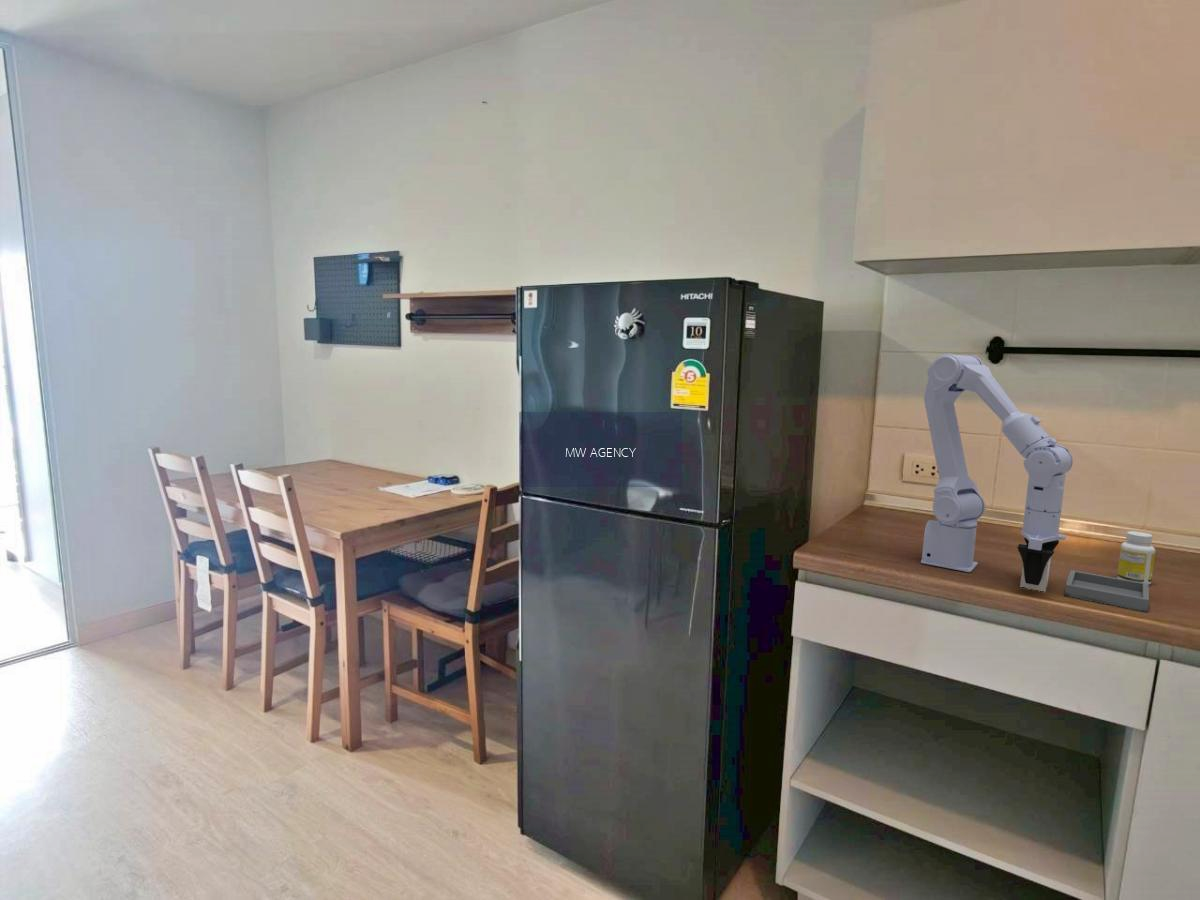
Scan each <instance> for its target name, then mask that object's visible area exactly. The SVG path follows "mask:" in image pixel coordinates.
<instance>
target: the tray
mask: <svg viewBox="0 0 1200 900" xmlns="http://www.w3.org/2000/svg"><path fill="white" fill-rule="evenodd" d="M1063 594H1064V595H1066V596H1065V597H1067V596H1071V597H1070V598H1072V597H1074V598H1073V599H1077V598H1080V599H1079V600H1082V599H1085V600H1084V601H1087V600H1091V601H1090V602H1092V601H1095V602H1094V603H1097V602H1100V603H1099V604H1102V603H1104V604H1103V605H1107V604H1110V605H1109V606H1112V605H1114V606H1113V607H1117V606H1120V607H1119V608H1122V607H1124V608H1123V609H1127V608H1128V609H1127V610H1132V609H1133V610H1134V611H1138V612H1143V613H1148V610H1149V609H1148V608H1149V603H1150V589H1149V585H1148V584H1147V583H1141V582H1136V581H1130V580H1124V579H1119V578H1117V577H1112V576H1108V575H1107V576H1105V575H1102V574H1094V573H1090V572H1083V571H1078V570H1073V569H1070V572H1069V574H1068V577H1067V580H1066V583H1065V587H1064V593H1063ZM1064 595H1063V596H1064Z"/></svg>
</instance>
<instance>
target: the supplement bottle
mask: <svg viewBox="0 0 1200 900" xmlns="http://www.w3.org/2000/svg"><path fill="white" fill-rule="evenodd" d="M1125 537H1126V538H1125V539H1126V540H1127V541H1125V542H1123V543H1121V545H1120V549H1119V550H1120V551H1119V559H1118V566H1117V567H1118V568H1117V577H1116V578H1119V579H1124V580H1130V581H1136V582H1141V583H1147V584H1148V586H1150V585H1151V584H1152V581H1153V572H1154V565H1155V556H1156V548H1155V547H1154V546H1153V545H1151V543H1152V542H1153V535H1152V534H1151V533H1148V532H1147V533H1146V532H1141V531H1135V530H1134V531H1127V532H1126V536H1125Z"/></svg>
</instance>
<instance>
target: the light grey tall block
mask: <svg viewBox="0 0 1200 900" xmlns="http://www.w3.org/2000/svg"><path fill="white" fill-rule="evenodd" d="M1051 560H1052V556H1051V557H1050V559H1049V560H1048V562H1047V564H1046V566H1045V569H1044V572H1043V576H1042V579H1041V581H1040V583H1039V585H1033V584H1028V583H1026V582H1025V577H1024V567H1023V566H1022V569H1021V577H1020V583H1019V584H1020V586H1019V588H1020V587H1025V588H1029V589H1028V590H1030V588H1031V589H1035V590H1039V591H1038V592H1040V591H1044V592H1043V593H1046V591H1047V589H1046V588H1048V585H1049V584H1048V583H1049V576H1050V567H1051ZM1025 588H1024V589H1025ZM1035 590H1034V591H1035Z"/></svg>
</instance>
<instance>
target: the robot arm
mask: <svg viewBox="0 0 1200 900" xmlns="http://www.w3.org/2000/svg"><path fill="white" fill-rule="evenodd" d="M926 371H927V377H928V379H927V383H926V388H925V392H924V395H923V396H924V397H923V401H924V409H925V411H926V418H927V422H928V427H929V428H928V429H929V432H930V438H931V442H932V447H933V454H934V458H935V463H936V464H935V465H936V468H937V473H938V474H937V475H938V479H939V480H938V482H937V483H936V485H935V486H934V488H933V494H934V495H933V496H934V498H933V499H934V500H933V504H932V512H933V513H932V514H933V515H934V517H935V518H936V519H937V520H935V519H934V520H932V519H928V521H927V522H926V524H925V528H924V535H923V540H922V541H923V542H922V553H921V560H920V563H921V564H925V565H930V566H935V567H939V568H944V569H950V570H956V571H961V572H966V573H971V572H973V570H974V569H975V568H976V567H977V565H978V563H979V562H977V561H974V555H975V546H976V538H977V536H976V535H977V526H978V519H979V518H981V517H982V516H983V514H984V513H985V510H986V503H985V502H986V501H985V500H984V497H982V495H981V494H980V492H979V491H978V487H977V484H976V483H975V482H974V480H973V479H972V478H971V477H970V476H969V472H968V469H967V463H966V458H965V451H964V447H963V443H962V437H961V432H960V428H959V423H958V418H957V413H956V407H955V402H956V400H957V399H958V398H959V397H960V396H961V395H962V394H963V393H964V392H965V391H969V392H974V393H975V394H976V395H978V397H979V398H980V399H981V400H982V401H983V402H984V403H985V404H986V405H987V407H989V409H990V410H991V411H992V412H993V413H994V414H995V415H996V416H997V417H998V418H999V420H1001V423H1002V427H1001V431H1002V433H1003V435H1004V436H1005V437H1006V439H1007V440H1009V442H1010V443H1011V444H1012V445H1013V446H1014V448H1015V450H1016V451H1017V452H1018V453H1019V454H1020V455H1021V457H1022V458H1024V460H1023V466H1024V469H1025V471H1026V472H1027V474H1028V481H1027V490H1026V498H1025V505H1024V516H1023V523H1022V524H1023V525H1022V528H1021V531H1020V534H1021V535H1022V536H1023V537H1024V538H1023V539H1024V542H1025V544H1022V543H1019V544H1018V545H1017V550H1018V552H1019V555H1020V557H1021V561H1022V567H1024V577H1025V582H1026V583H1028V584H1033V585H1039V583H1040V581H1041V579H1042V576H1043V572H1044V569H1045V566H1046V564H1047V562H1048V560H1049V559H1050V557H1051V558H1052V556H1053V555H1054V553H1055V549H1056V547H1057V546H1058V545H1059V543H1060V541H1065V540H1066V537H1067V535H1066V534H1061V533H1060V525H1061V523H1060V522H1061V517H1062V516H1061V515H1062V507H1063V499H1064V492H1065V481H1066V474H1067V473H1068V472H1069V471H1070V470H1071V469H1072V466H1073V463H1074V462H1073V461H1074V460H1073V456H1072V454H1071V452H1070V450H1069V448H1067V447H1066V446H1063V445H1061V444H1057V443H1058V441H1057V440H1056V438H1055V437H1051V436H1050V435H1049V434H1048V433H1047V432H1046V431H1045V429H1044V428H1043V427H1042V425H1040V423H1041V422H1042V421H1041V419H1040V418H1039V417H1038V416H1033V415H1032V414H1031V413H1029V412H1021V411H1019V409H1018V407H1017V406H1016V405H1015V403H1014V402H1013V401H1012V400H1011V398H1010V397H1009V396H1008V395H1007V393H1006V392H1005V390H1004V389H1003V388H1002V386H1001V385H1000V384H999V383H998V381H997V379H995V377H994V376H993V374H992V372H991V369H990V367H989V366H987V365H986V364H984V363H983V361H982V360H981V358H979V357H978V356H976V355H973V354H967V355H962V354H953V353H943V354H940V355H938V357H936V358H935V359H934V361H932V363H931V364H930V365H929V367H928V368H927V370H926Z"/></svg>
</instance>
